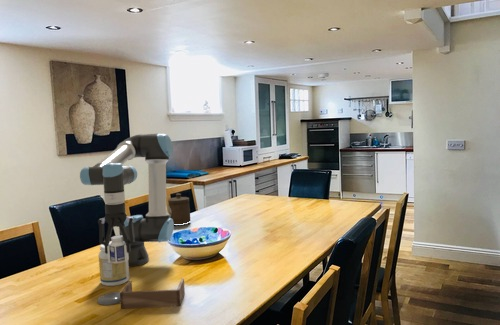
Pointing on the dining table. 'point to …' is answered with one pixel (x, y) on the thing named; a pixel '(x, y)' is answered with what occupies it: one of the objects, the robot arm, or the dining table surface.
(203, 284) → the dining table surface
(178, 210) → the wooden container
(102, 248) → the supplement tub
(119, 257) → the pill bottle
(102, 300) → the coaster
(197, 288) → the dining table surface
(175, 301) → the wooden u-shaped bracket
